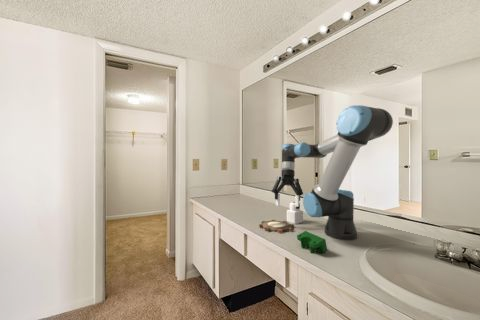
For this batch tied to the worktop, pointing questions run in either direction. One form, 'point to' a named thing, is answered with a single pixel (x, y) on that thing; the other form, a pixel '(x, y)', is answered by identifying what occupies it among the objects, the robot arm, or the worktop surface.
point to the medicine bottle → (294, 214)
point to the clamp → (312, 242)
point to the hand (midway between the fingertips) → (287, 206)
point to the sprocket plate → (276, 226)
